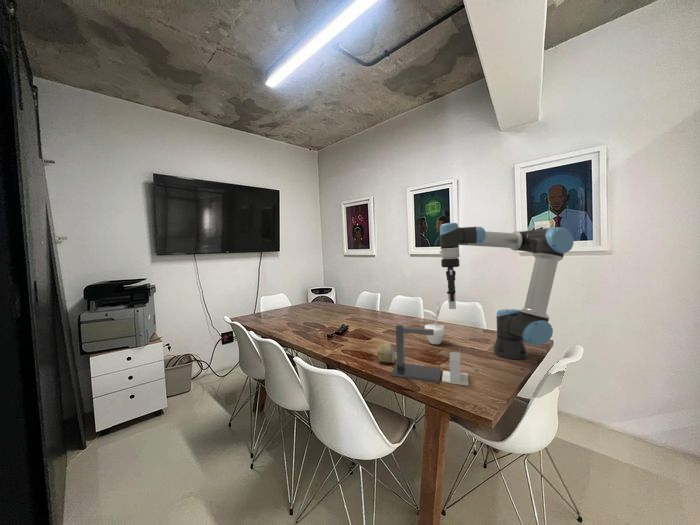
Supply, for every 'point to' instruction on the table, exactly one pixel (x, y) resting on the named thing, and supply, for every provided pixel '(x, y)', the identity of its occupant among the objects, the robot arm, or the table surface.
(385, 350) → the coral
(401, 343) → the stand
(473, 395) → the table surface
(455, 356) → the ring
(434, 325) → the potted plant
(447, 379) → the pad
